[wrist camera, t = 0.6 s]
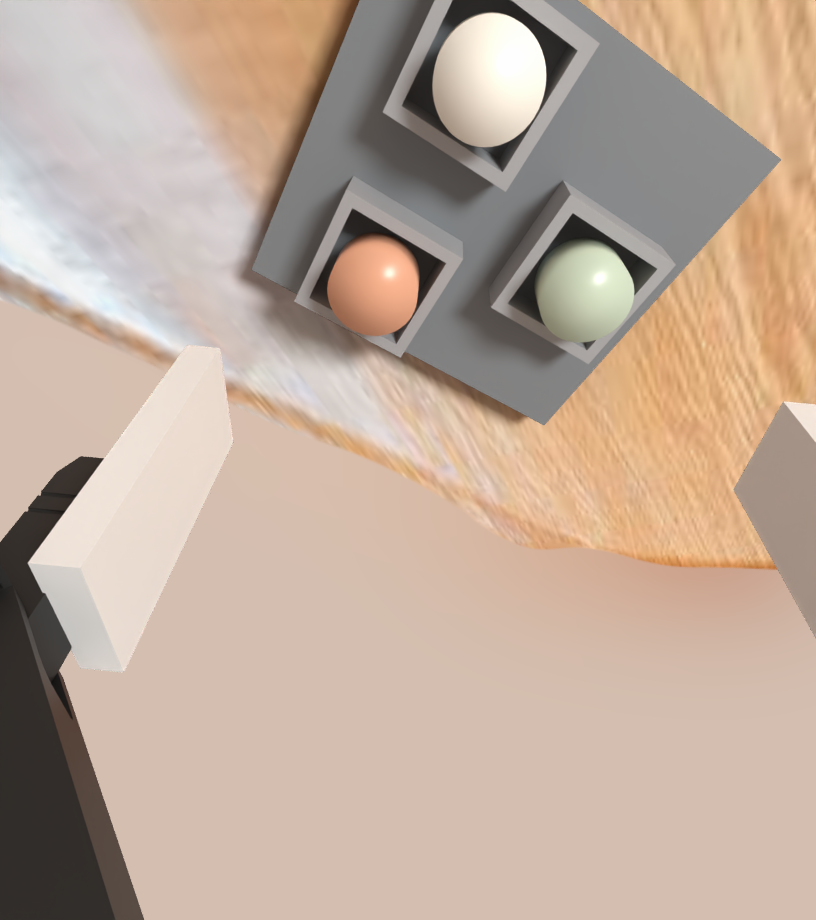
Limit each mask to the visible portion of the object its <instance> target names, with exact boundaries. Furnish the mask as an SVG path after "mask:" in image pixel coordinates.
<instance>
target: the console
mask: <svg viewBox="0 0 816 920" xmlns="http://www.w3.org/2000/svg"><path fill="white" fill-rule="evenodd" d="M483 12H498V13H502V14H506V15H508V16H510V17H512V18H514V19H516V20H517V21H519V22H520V23H522V24H523V25H524V26H526V27H527V28H528V29H529V30H530V31H531V33H532V34H533V35H534V36H535V38H536V40H537V41H538V43H539V45H540V47H541V49H542V52H543V56H544V59H545V65H546V86H545V92H544V96H543V99H542V102H541V105H540V107H539V110H538V112H537V113H536V115H535V117H534V118H533V120H532V121H531V123H530V124H529V125H528V126H527V127H526V129H525V130H524V131H523V132H521V133H520V134H519V135H518V136H516V137H515V138H514V139H512V140H510V141H508V142H506V143H504V144H501V145H498V146H493V147H477V146H472V145H469V144H466V143H464V142H462V141H461V140H459V139H457V138H456V137H455V136H453V135H452V134H451V133H450V132H449V131H448V130H447V128H446V127H445V126H444V124H443V123H442V121H441V119H440V117H439V115H438V113H437V110H436V107H435V103H434V98H433V87H432V84H433V74H434V68H435V64H436V60H437V56H438V53H439V51H440V48H441V46H442V44H443V42H444V41H445V39H446V37H447V36H448V35H449V33H450V32H451V31H452V30H453V29H454V28H455V27H456V26H457V25H458V24H459V23H461V22H462V21H463V20H465V19H467V18H468V17H470V16H473V15H475V14H479V13H483ZM780 161H781V159H780V158H779V157H777V156H776V155H775V154H774V153H772V152H771V151H770V150H769V149H767V148H766V147H765V146H763V145H762V144H761V143H760V142H758V141H757V140H756V139H754V138H753V137H752V136H751V135H749V134H748V133H747V132H746V131H744V130H743V129H742V128H740V127H739V126H738V125H737V124H735V123H734V122H733V121H731V120H730V119H729V118H728V117H726V116H725V115H724V114H723V113H721V112H720V111H719V110H717V109H716V108H715V107H714V106H712V105H711V104H710V103H708V102H707V101H706V100H705V99H703V98H702V97H701V96H699V95H698V94H697V93H696V92H694V91H693V90H692V89H691V88H689V87H688V86H687V85H685V84H684V83H683V82H682V81H680V80H679V79H678V78H676V77H675V76H674V75H673V74H671V73H670V72H669V71H668V70H666V69H665V68H664V67H662V66H661V65H660V64H659V63H657V62H656V61H655V60H653V59H652V58H651V57H650V56H648V55H647V54H646V53H645V52H643V51H642V50H641V49H639V48H638V47H637V46H636V45H634V44H633V43H632V42H630V41H629V40H628V39H627V38H625V37H624V36H623V35H622V34H620V33H619V32H618V31H616V30H615V29H614V28H613V27H611V26H610V25H609V24H607V23H606V22H605V21H604V20H602V19H601V18H600V17H599V16H597V15H596V14H595V13H593V12H592V11H591V10H590V9H588V8H587V7H586V6H584V5H583V4H582V3H581V2H579V1H578V0H359V3H358V5H357V8H356V10H355V13H354V15H353V18H352V20H351V23H350V25H349V28H348V30H347V33H346V35H345V38H344V40H343V43H342V45H341V48H340V50H339V53H338V55H337V58H336V60H335V63H334V65H333V68H332V70H331V73H330V75H329V78H328V80H327V83H326V85H325V88H324V90H323V93H322V95H321V98H320V100H319V103H318V105H317V108H316V110H315V113H314V115H313V118H312V120H311V123H310V125H309V128H308V130H307V133H306V135H305V138H304V140H303V143H302V145H301V147H300V150H299V152H298V155H297V157H296V160H295V162H294V165H293V167H292V170H291V172H290V175H289V177H288V180H287V182H286V185H285V187H284V190H283V192H282V195H281V197H280V200H279V202H278V205H277V207H276V210H275V212H274V215H273V217H272V220H271V222H270V225H269V227H268V230H267V232H266V235H265V237H264V240H263V242H262V245H261V247H260V250H259V252H258V255H257V257H256V260H255V262H254V265H253V267H252V271H254V272H256V273H258V274H260V275H262V276H264V277H266V278H268V279H269V280H271V281H273V282H275V283H277V284H279V285H281V286H283V287H284V288H286V289H288V290H290V291H292V292H294V293H296V294H297V296H296V299H295V301H294V302H296V303H298V304H299V305H301V306H303V307H305V308H307V309H309V310H311V311H313V312H315V313H317V314H318V315H320V316H322V317H324V318H326V319H328V320H330V321H332V322H334V323H336V324H337V325H339V326H341V327H343V328H345V329H347V330H349V331H351V332H353V333H354V334H356V335H358V336H360V337H362V338H364V339H366V340H368V341H370V342H372V343H373V344H375V345H377V346H379V347H381V348H383V349H385V350H387V351H389V352H391V353H392V354H394V355H396V356H398V357H400V358H401V356H402V355H403V353H404V352H407V353H409V354H411V355H412V356H414V357H416V358H418V359H420V360H422V361H424V362H426V363H427V364H429V365H431V366H433V367H435V368H437V369H439V370H441V371H443V372H444V373H446V374H448V375H450V376H452V377H454V378H456V379H458V380H459V381H461V382H463V383H465V384H467V385H469V386H471V387H473V388H475V389H476V390H478V391H480V392H482V393H484V394H486V395H488V396H490V397H491V398H493V399H495V400H497V401H499V402H501V403H503V404H505V405H507V406H508V407H510V408H512V409H514V410H516V411H518V412H520V413H522V414H523V415H525V416H527V417H529V418H531V419H533V420H535V421H537V422H539V423H540V424H542V425H545V424H546V423H547V421H548V420H549V419H550V418H551V417H552V416H553V415H554V414H555V413H556V411H557V410H558V409H559V408H560V407H561V406H562V405H563V404H564V402H565V401H566V400H567V399H568V398H569V397H570V396H571V395H572V393H573V392H574V391H575V390H576V389H577V388H578V387H579V386H580V385H581V383H582V382H583V381H584V380H585V379H586V378H587V377H588V376H589V374H590V373H591V372H592V371H593V370H594V369H595V368H596V367H597V366H598V364H599V363H600V362H601V361H602V360H603V359H604V358H605V357H606V355H607V354H608V353H609V352H610V351H611V350H612V349H613V348H614V346H615V345H616V344H617V343H618V342H619V341H620V340H621V339H622V338H623V336H624V335H625V334H626V333H627V332H628V331H629V330H630V329H631V327H632V326H633V325H634V324H635V323H636V322H637V321H638V320H639V318H640V317H641V316H642V315H643V314H644V313H645V312H646V311H647V310H648V308H649V307H650V306H651V305H652V304H653V303H654V302H655V301H656V299H657V298H658V297H659V296H660V295H661V294H662V293H663V292H664V290H665V289H666V288H667V287H668V286H669V285H670V284H671V283H672V282H673V280H674V279H675V278H676V277H677V276H678V275H679V274H680V273H681V271H682V270H683V269H684V268H685V267H686V266H687V265H688V264H689V262H690V261H691V260H692V259H693V258H694V257H695V256H696V255H697V254H698V252H699V251H700V250H701V249H702V248H703V247H704V246H705V245H706V243H707V242H708V241H709V240H710V239H711V238H712V237H713V236H714V234H715V233H716V232H717V231H718V230H719V229H720V228H721V227H722V226H723V224H724V223H725V222H726V221H727V220H728V219H729V218H730V217H731V215H732V214H733V213H734V212H735V211H736V210H737V209H738V208H739V207H740V205H741V204H742V203H743V202H744V201H745V200H746V199H747V198H748V196H749V195H750V194H751V193H752V192H753V191H754V190H755V189H756V187H757V186H758V185H759V184H760V183H761V182H762V181H763V180H764V179H765V177H766V176H767V175H768V174H769V173H770V172H771V171H772V170H773V168H774V167H775V166H776V165H777V164H778V163H779V162H780ZM375 232H376V233H384V234H388V235H391V236H393V237H395V238H397V239H399V240H400V241H402V242H403V243H404V244H405V245H406V246H407V247H408V248H409V249H410V250H411V251H412V253H413V254H414V256H415V258H416V260H417V263H418V267H419V273H420V279H419V289H418V298H417V304H416V308H415V311H414V313H413V315H412V317H411V318H410V319H409V321H408V322H407V323H406V324H405V325H404V326H403V327H401V328H400V329H398V330H397V331H395V332H392V333H390V334H386V335H381V336H369V335H364V334H360V333H358V332H355V331H353V330H351V329H350V328H348V327H347V326H345V325H344V324H343V323H342V322H341V321H340V320H339V319H338V318H337V317H336V315H335V314H334V312H333V310H332V308H331V306H330V303H329V300H328V294H327V287H328V280H329V277H330V274H331V272H332V270H333V267H334V265H335V262H336V260H337V258H338V255H339V253H340V252H341V250H342V249H343V247H344V246H345V245H346V244H347V243H348V242H349V241H351V240H352V239H353V238H355V237H357V236H359V235H362V234H366V233H375ZM577 238H594V239H598V240H601V241H603V242H605V243H607V244H608V245H610V246H611V247H612V248H613V249H614V250H615V251H616V253H617V254H618V256H619V257H620V259H621V260H622V262H623V264H624V265H625V267H626V269H627V270H628V272H629V274H630V276H631V278H632V281H633V284H634V300H633V304H632V307H631V309H630V312H629V314H628V315H627V317H626V318H625V320H624V321H623V322H622V323H621V324H620V325H619V326H618V327H617V328H616V329H615V330H614V331H612V332H611V333H609V334H608V335H606V336H604V337H602V338H600V339H597V340H594V341H590V342H579V343H578V342H570V341H566V340H563V339H561V338H559V337H557V336H555V335H554V334H553V333H552V332H550V331H549V330H548V328H547V327H546V326H545V324H544V322H543V320H542V317H541V314H540V310H539V306H538V302H537V299H536V295H535V288H534V284H535V277H536V273H537V270H538V268H539V266H540V264H541V262H542V261H543V259H544V258H545V257H546V256H547V255H548V254H549V253H550V252H551V251H552V250H553V249H554V248H556V247H557V246H559V245H560V244H562V243H564V242H567V241H569V240H572V239H577Z"/></svg>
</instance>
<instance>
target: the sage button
mask: <svg viewBox="0 0 816 920" xmlns="http://www.w3.org/2000/svg"><path fill="white" fill-rule="evenodd" d="M534 288H535V295H536V299H537V302H538V306H539V310H540V314H541V317H542V320H543V322H544V324H545V326H546V327H547V328H548V330H549V331H550V332H552V333H553V334H554V335H555V336H557V337H559V338H561V339H563V340H566V341H570V342H578V343H579V342H590V341H594V340H597V339H600V338H602V337H604V336H606V335H608V334H609V333H611V332H612V331H614V330H615V329H616V328H617V327H618V326H619V325H620V324H621V323H622V322H623V321H624V320H625V318H626V317H627V315H628V314H629V312H630V309H631V307H632V304H633V300H634V284H633V281H632V278H631V276H630V274H629V272H628V270H627V269H626V267H625V265H624V264H623V262H622V260H621V259H620V257H619V256H618V254H617V253H616V251H615V250H614V249H613V248H612V247H611V246H610V245H608V244H607V243H605V242H603V241H601V240H598V239H594V238H577V239H572V240H569V241H567V242H564V243H562V244H560V245H559V246H557V247H556V248H554V249H553V250H552V251H551V252H550V253H549V254H548V255H547V256H546V257H545V258H544V259H543V261H542V262H541V264H540V266H539V268H538V270H537V273H536V277H535V284H534Z"/></svg>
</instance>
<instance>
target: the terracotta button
mask: <svg viewBox="0 0 816 920" xmlns="http://www.w3.org/2000/svg"><path fill="white" fill-rule="evenodd" d="M419 279H420V273H419V267H418V263H417V260H416V258H415V256H414V254H413V253H412V251H411V250H410V249H409V248H408V247H407V246H406V245H405V244H404V243H403V242H402V241H400V240H399V239H397V238H395V237H393V236H391V235H388V234H384V233H376V232H375V233H366V234H362V235H359V236H357V237H355V238H353V239H352V240H351V241H349V242H348V243H347V244H346V245H345V246H344V247H343V249H342V250H341V252H340V253H339V255H338V258H337V260H336V262H335V265H334V267H333V270H332V272H331V274H330V277H329V280H328V287H327V294H328V300H329V303H330V306H331V308H332V310H333V312H334V314H335V315H336V317H337V318H338V319H339V320H340V321H341V322H342V323H343V324H344V325H345V326H347V327H348V328H350V329H351V330H353V331H355V332H358V333H360V334H364V335H369V336H381V335H386V334H390V333H392V332H395V331H397V330H398V329H400V328H401V327H403V326H404V325H405V324H406V323H407V322H408V321H409V319H410V318H411V317H412V315H413V313H414V311H415V308H416V304H417V298H418V289H419Z"/></svg>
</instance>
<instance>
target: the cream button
mask: <svg viewBox="0 0 816 920" xmlns="http://www.w3.org/2000/svg"><path fill="white" fill-rule="evenodd" d="M545 86H546V65H545V59H544V56H543V52H542V49H541V47H540V45H539V43H538V41H537V40H536V38H535V36H534V35H533V34H532V33H531V31H530V30H529V29H528V28H527V27H526V26H524V25H523V24H522V23H520V22H519V21H517V20H516V19H514V18H512V17H510V16H508V15H506V14H502V13H498V12H483V13H479V14H475V15H473V16H470V17H468V18H467V19H465V20H463V21H462V22H461V23H459V24H458V25H457V26H456V27H455V28H454V29H453V30H452V31H451V32H450V33H449V35H448V36H447V37H446V39H445V41H444V42H443V44H442V46H441V48H440V51H439V53H438V56H437V60H436V64H435V68H434V74H433V84H432V87H433V98H434V103H435V107H436V110H437V113H438V115H439V117H440V119H441V121H442V123H443V124H444V126H445V127H446V128H447V130H448V131H449V132H450V133H451V134H452V135H453V136H455V137H456V138H457V139H459V140H461V141H462V142H464V143H466V144H469V145H472V146H477V147H493V146H498V145H501V144H504V143H506V142H508V141H510V140H512V139H514V138H515V137H516V136H518V135H519V134H520V133H521V132H523V131H524V130H525V129H526V127H527V126H528V125H529V124H530V123H531V121H532V120H533V118H534V117H535V115H536V113H537V112H538V110H539V107H540V105H541V102H542V99H543V96H544V92H545Z"/></svg>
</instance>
